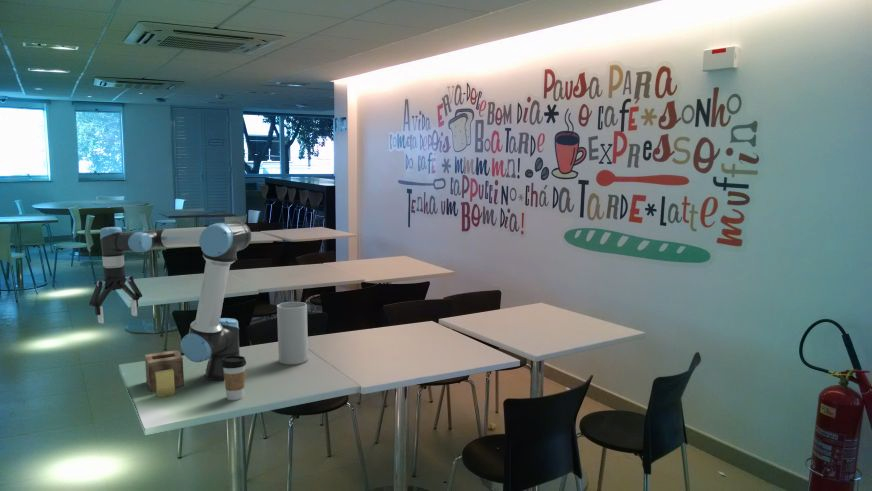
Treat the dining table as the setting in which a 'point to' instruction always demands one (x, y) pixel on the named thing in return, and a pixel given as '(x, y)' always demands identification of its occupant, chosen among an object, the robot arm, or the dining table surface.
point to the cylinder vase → (292, 333)
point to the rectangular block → (165, 383)
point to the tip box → (164, 367)
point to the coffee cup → (234, 376)
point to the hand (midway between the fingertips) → (118, 319)
